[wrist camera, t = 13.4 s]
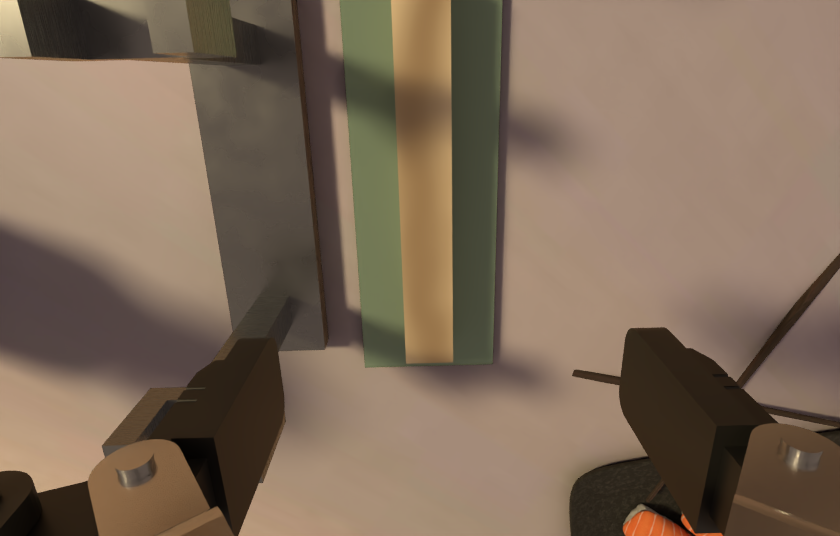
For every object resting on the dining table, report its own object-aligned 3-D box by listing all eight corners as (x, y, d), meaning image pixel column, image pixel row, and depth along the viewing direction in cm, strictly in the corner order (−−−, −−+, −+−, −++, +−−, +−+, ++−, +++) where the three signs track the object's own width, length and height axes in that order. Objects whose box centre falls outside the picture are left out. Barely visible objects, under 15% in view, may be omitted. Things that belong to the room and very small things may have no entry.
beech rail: (447, -19, 29) (450, -29, 26) (450, 340, 36) (453, 362, 33) (392, -17, 29) (389, -27, 26) (406, 341, 36) (406, 363, 33)
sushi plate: (572, 588, 46) (586, 631, 43) (540, 277, 36) (555, 299, 32) (910, 542, 45) (954, 582, 41) (978, 204, 35) (1043, 219, 31)
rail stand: (295, -13, 29) (168, -108, 14) (328, 339, 37) (268, 521, 22) (187, -10, 29) (-55, -103, 14) (243, 341, 37) (124, 524, 22)
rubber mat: (502, -60, 28) (504, -62, 28) (491, 359, 37) (492, 364, 37) (337, -56, 28) (335, -58, 28) (365, 363, 37) (364, 367, 37)
